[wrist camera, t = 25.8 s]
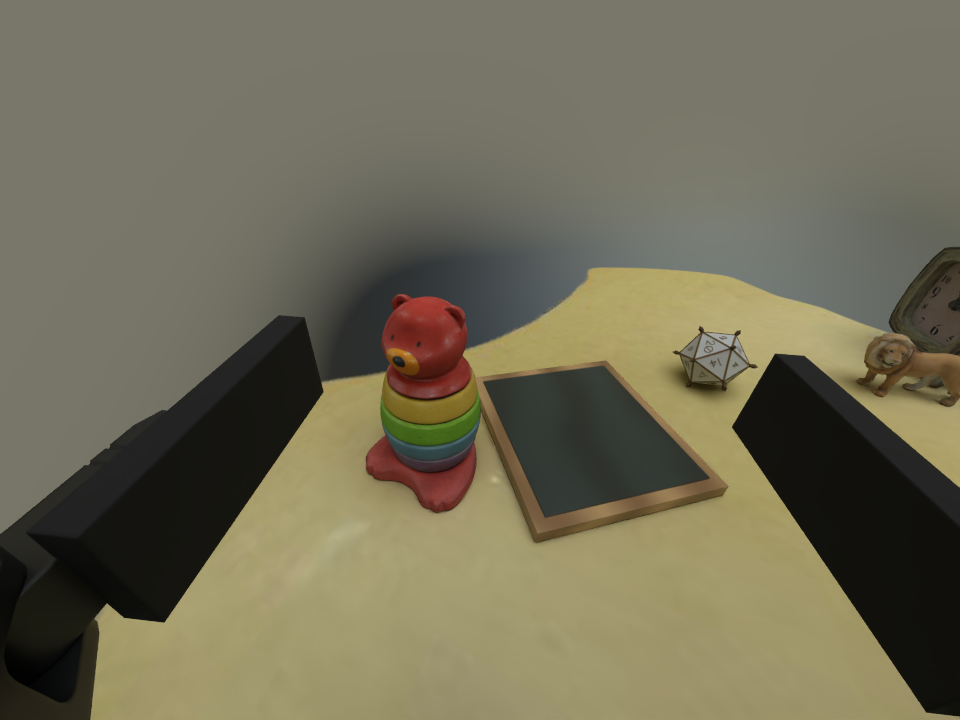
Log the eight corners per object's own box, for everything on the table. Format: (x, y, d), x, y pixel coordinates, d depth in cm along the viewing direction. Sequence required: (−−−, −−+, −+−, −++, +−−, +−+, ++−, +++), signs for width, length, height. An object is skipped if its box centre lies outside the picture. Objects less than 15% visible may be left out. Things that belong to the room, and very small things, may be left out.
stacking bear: (356, 469, 37) (322, 307, 27) (419, 411, 44) (411, 268, 34) (446, 521, 33) (445, 353, 23) (499, 448, 40) (515, 297, 30)
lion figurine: (857, 400, 50) (903, 344, 45) (829, 377, 55) (868, 323, 49) (968, 408, 50) (1027, 353, 45) (931, 384, 54) (981, 331, 49)
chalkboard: (604, 368, 54) (606, 359, 53) (722, 495, 36) (729, 485, 35) (471, 386, 49) (471, 376, 48) (535, 542, 31) (537, 532, 30)
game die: (702, 411, 52) (748, 395, 43) (651, 372, 54) (685, 349, 45) (735, 367, 54) (787, 342, 45) (685, 331, 56) (724, 300, 47)
